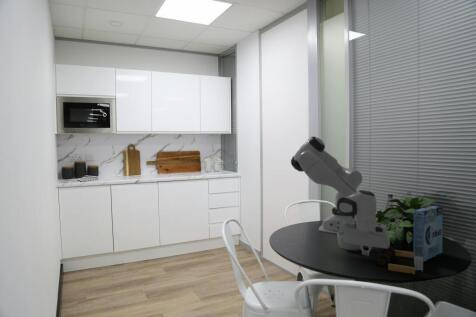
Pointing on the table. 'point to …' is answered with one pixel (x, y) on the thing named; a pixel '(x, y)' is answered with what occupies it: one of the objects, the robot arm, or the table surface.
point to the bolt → (386, 256)
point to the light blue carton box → (428, 231)
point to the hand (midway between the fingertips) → (365, 254)
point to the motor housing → (417, 257)
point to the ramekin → (345, 245)
